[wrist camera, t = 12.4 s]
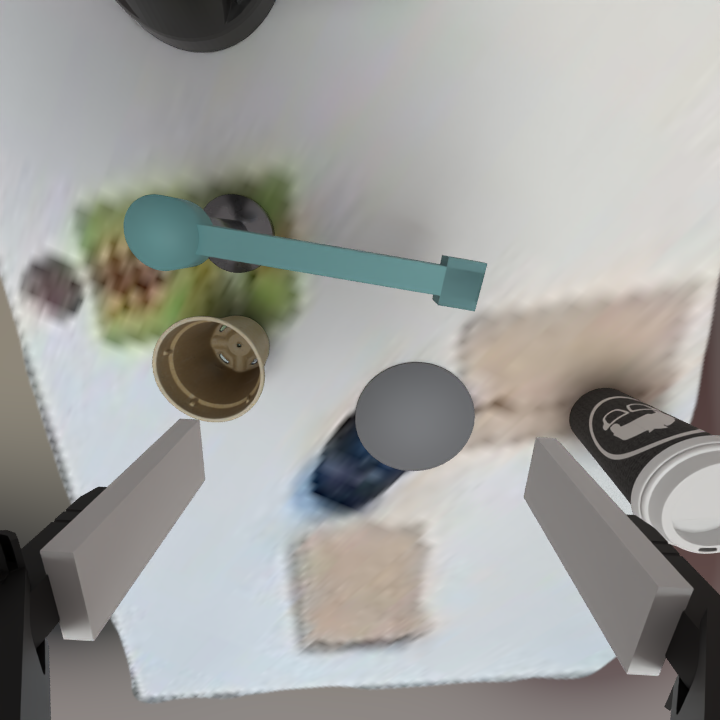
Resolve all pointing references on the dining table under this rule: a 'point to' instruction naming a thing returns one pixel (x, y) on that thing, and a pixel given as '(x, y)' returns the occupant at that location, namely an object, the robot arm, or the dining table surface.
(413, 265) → the teal paddle stick
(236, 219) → the grey pedestal stand
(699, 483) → the coffee cup
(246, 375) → the flower pot
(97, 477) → the dining table surface
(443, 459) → the pad
